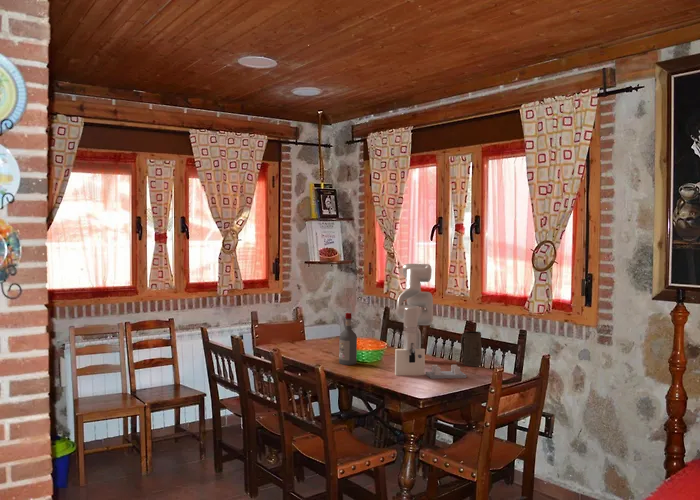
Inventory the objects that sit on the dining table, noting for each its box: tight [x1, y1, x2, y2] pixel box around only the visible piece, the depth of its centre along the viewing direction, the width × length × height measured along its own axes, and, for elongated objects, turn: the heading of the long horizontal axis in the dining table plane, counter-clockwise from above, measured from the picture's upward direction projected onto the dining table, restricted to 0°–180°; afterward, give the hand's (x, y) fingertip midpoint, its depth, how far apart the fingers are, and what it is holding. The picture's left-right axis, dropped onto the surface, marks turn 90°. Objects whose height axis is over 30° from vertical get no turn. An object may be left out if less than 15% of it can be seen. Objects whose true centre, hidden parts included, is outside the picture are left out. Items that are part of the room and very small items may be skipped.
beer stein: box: [460, 330, 483, 367], centre depth 364 cm, size 15×11×20 cm
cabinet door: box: [394, 348, 426, 377], centre depth 332 cm, size 4×16×14 cm, turn 98°
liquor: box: [338, 312, 358, 366], centre depth 360 cm, size 9×9×30 cm
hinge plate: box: [425, 364, 467, 379], centre depth 330 cm, size 10×20×6 cm, turn 98°
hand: (409, 360), depth 332 cm, fingers open, 9 cm apart
